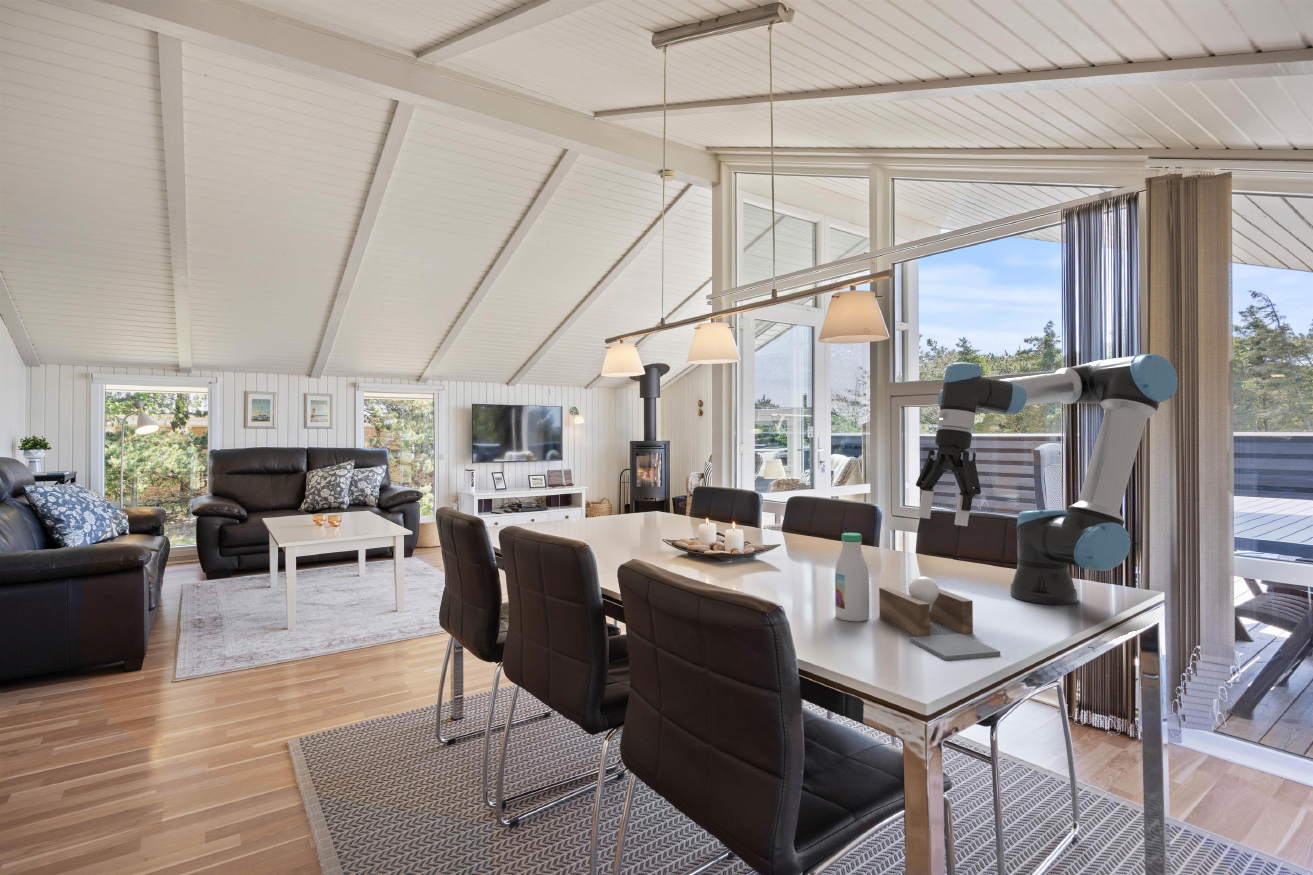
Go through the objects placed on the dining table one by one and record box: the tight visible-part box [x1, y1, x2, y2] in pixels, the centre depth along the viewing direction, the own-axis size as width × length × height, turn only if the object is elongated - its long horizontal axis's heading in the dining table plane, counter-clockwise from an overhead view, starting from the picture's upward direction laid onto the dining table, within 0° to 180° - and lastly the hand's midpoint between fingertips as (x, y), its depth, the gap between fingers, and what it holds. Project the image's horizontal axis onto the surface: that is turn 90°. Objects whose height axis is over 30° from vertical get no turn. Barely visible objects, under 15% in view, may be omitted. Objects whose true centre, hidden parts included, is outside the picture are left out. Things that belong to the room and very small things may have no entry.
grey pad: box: [909, 632, 1001, 661], centre depth 134 cm, size 12×12×1 cm
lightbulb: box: [908, 575, 940, 613], centre depth 151 cm, size 6×6×11 cm
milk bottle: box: [834, 532, 870, 622], centre depth 157 cm, size 8×8×20 cm
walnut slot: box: [878, 586, 974, 637], centre depth 151 cm, size 13×16×7 cm
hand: (941, 521), depth 152 cm, fingers open, 13 cm apart
